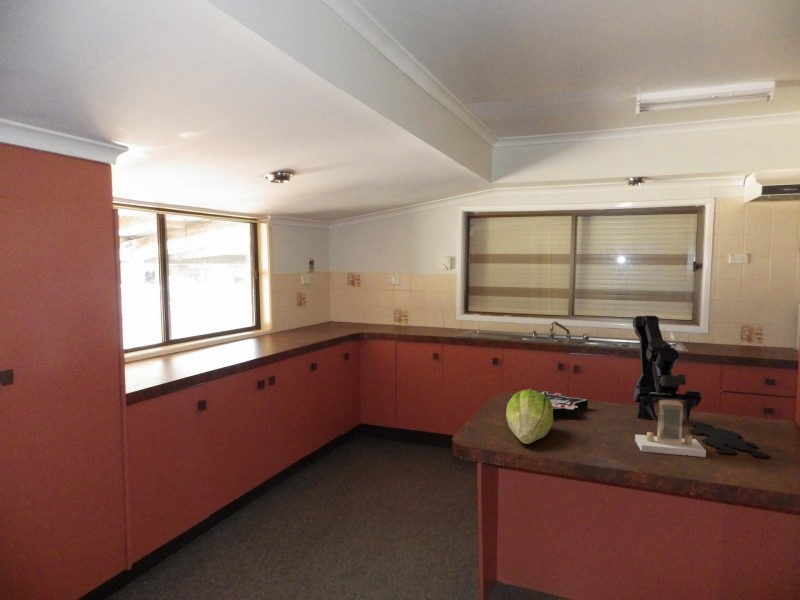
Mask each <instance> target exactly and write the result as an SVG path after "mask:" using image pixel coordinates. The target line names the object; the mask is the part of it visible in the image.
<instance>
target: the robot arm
mask: <svg viewBox="0 0 800 600" xmlns="http://www.w3.org/2000/svg"><path fill="white" fill-rule="evenodd" d="M659 319H660V318H659V317H658V316H656V315H646V314H645V315H636V316H635V317H634V318H633V319H632V328H633V329H634V333H635V335H636V336H637V338H638V339H639V340H638V341H639V357H640V358H639V360H640V361H639V363H640V377H639V378H638V380H637V381H636V385H635V387H634V390H633V393H632V394H633V396H632V397H633V400H634V402H635V403H637V411H636V412H635V415H636V418H637V419H643V420H647V419H648V420H654V421H656V420H657V416H656V411H655V408H656V406H655V405H656V404H657V403H658V404H659V400H668V401H682V404H683V413H684V414H683V416H684V419H685V423H689V419H690V415H691V412H692V411H691V410H692V409H694V408H695V407H698V406H699V404H700V402H701V400H702V399H703V397H702V393H701V392H700V391H699V390H693V389H692V390H689V389H686V390H685V392H684V393H677V392H678V391H679V387H680V386H685V385H686V383H687V382H686V380H687V379H686V376H685V374H681V373H680V374H678V375H673V369H674V368H675V367H676V365H677V362H678V359H679V356H680V353H679V352H678V350H677V349H675V348H673V347H671V344H669V343H668V342H667V341H666V340H664V339H663V336H662V331H661V328H660V321H659Z"/></svg>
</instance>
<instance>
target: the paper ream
mask: <svg viewBox="0 0 800 600" xmlns="http://www.w3.org/2000/svg"><path fill="white" fill-rule="evenodd" d="M683 406H684V403H683V402H681V400H668V399H661V400H659V403H658V406H657V409H658V410H657V435H656V436H657V440H658V441H659V443H660V444H671V445H681V439H682V436H683V435H682V434H683V416H684V414H683V413H684V408H683Z"/></svg>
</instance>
